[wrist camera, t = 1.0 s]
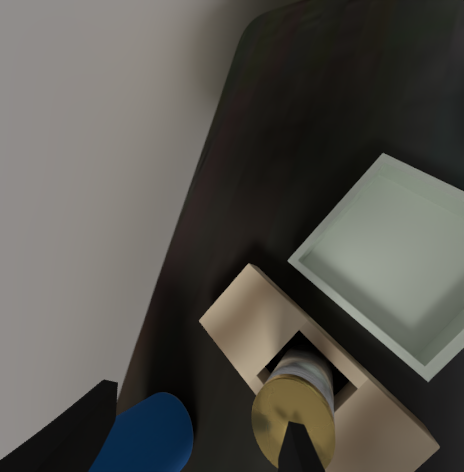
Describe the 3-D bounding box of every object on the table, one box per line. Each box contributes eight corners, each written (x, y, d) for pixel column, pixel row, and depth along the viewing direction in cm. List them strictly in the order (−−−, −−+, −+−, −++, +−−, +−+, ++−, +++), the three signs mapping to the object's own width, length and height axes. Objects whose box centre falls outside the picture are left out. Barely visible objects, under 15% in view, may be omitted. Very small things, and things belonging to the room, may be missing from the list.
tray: (534, 250, 15) (571, 242, 13) (413, 368, 16) (428, 382, 14) (376, 169, 20) (383, 152, 18) (291, 264, 21) (287, 260, 19)
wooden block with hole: (423, 424, 15) (440, 447, 13) (352, 491, 16) (356, 524, 14) (256, 266, 22) (248, 263, 20) (211, 317, 23) (198, 320, 21)
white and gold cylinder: (344, 374, 18) (355, 439, 10) (309, 410, 18) (295, 498, 10) (303, 333, 19) (286, 362, 12) (272, 366, 20) (236, 415, 12)
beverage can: (153, 378, 24) (10, 450, 13) (205, 406, 21) (77, 526, 10) (136, 444, 23) (-32, 580, 12) (188, 483, 20) (29, 700, 10)
